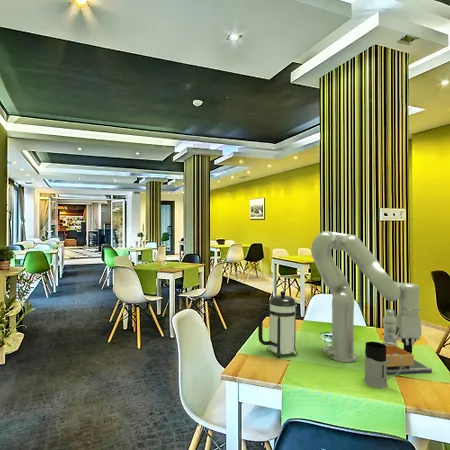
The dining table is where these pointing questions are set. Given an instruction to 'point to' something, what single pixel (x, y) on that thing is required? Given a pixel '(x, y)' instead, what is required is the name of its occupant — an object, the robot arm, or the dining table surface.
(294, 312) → the coffee press
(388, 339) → the plastic bottle
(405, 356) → the orange open tray
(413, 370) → the grey flat slab
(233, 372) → the dining table surface
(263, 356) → the dining table surface
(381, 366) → the grey mug
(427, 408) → the dining table surface
